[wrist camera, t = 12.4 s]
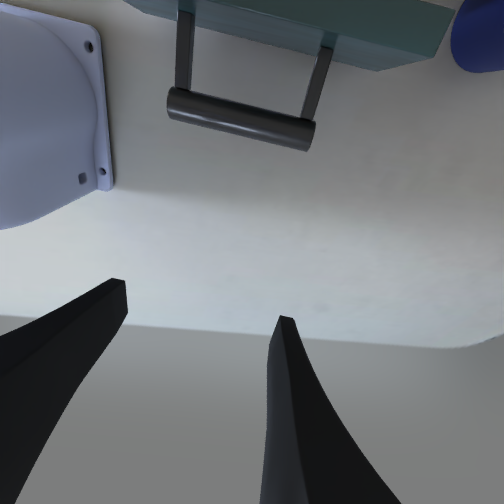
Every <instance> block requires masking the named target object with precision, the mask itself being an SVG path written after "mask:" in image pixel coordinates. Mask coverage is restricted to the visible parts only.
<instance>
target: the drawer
mask: <svg viewBox="0 0 504 504" xmlns="http://www.w3.org/2000/svg"><path fill="white" fill-rule="evenodd" d="M123 1H125V2H127V3H128V4H130V5H132V6H133V7H135V8H137V9H138V10H140V11H142V12H143V13H146V14H150V15H154V16H158V17H162V18H166V19H170V20H174V21H177V39H176V66H175V87H174V86H173V87H171V88H170V90H169V92H168V96H167V112H168V115H169V117H170V118H171V119H174V120H178V121H182V122H186V123H190V124H194V125H198V126H202V127H207V128H211V129H215V130H219V131H223V132H227V133H231V134H235V135H239V136H243V137H248V138H252V139H256V140H260V141H264V142H268V143H272V144H276V145H280V146H284V147H289V148H293V149H297V150H301V151H305V152H307V151H308V150H309V148H310V145H311V142H312V139H313V136H314V132H315V128H316V122H315V121H312V120H313V118H314V115H315V111H316V108H317V105H318V101H319V98H320V95H321V91H322V88H323V85H324V82H325V78H326V75H327V72H328V68H329V65H330V62H331V60H332V61H336V62H340V63H344V64H348V65H352V66H356V67H360V68H364V69H368V70H372V71H376V72H378V71H382V70H386V69H390V68H394V67H398V66H402V65H406V64H410V63H414V62H418V61H422V60H426V59H430V58H433V57H434V56H435V54H436V52H437V49H438V47H439V45H440V43H441V41H442V39H443V37H444V35H445V33H446V31H447V28H448V26H449V24H450V22H451V20H452V18H453V16H454V14H455V10H454V9H450V8H446V7H443V6H439V5H435V4H431V3H427V2H423V1H420V0H123ZM195 26H198V27H202V28H206V29H210V30H214V31H218V32H221V33H225V34H229V35H233V36H237V37H241V38H245V39H249V40H253V41H257V42H261V43H265V44H269V45H273V46H277V47H281V48H285V49H289V50H293V51H297V52H301V53H305V54H309V55H313V56H316V60H315V63H314V67H313V71H312V74H311V78H310V82H309V85H308V89H307V92H306V96H305V100H304V103H303V107H302V111H301V114H300V117H301V118H300V117H296V116H292V115H288V114H284V113H280V112H276V111H272V110H267V109H263V108H259V107H255V106H251V105H247V104H243V103H239V102H235V101H231V100H227V99H223V98H219V97H215V96H211V95H207V94H203V93H199V92H195V91H190V89H191V77H192V62H193V46H194V31H195Z"/></svg>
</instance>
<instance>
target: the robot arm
mask: <svg viewBox="0 0 504 504" xmlns="http://www.w3.org/2000/svg"><path fill="white" fill-rule="evenodd" d="M90 43H91V44H92V45H93V48H94V49H93V52H92V53H91V51H90V50H89V44H90ZM102 168H104V169H105V170H106V173H104V172H103V170H102ZM112 189H113V174H112V163H111V152H110V141H109V129H108V118H107V107H106V96H105V85H104V74H103V63H102V51H101V40H100V35H99V33H98V31H97V30H96V29H95V28H94V27H93V26H91V25H88V24H84V23H81V22H77V21H73V20H69V19H65V18H61V17H57V16H53V15H49V14H45V13H41V12H37V11H33V10H29V9H25V8H21V7H17V6H13V5H9V4H5V3H1V2H0V230H3V229H7V228H12V227H16V226H20V225H23V224H26V223H29V222H32V221H34V220H37V219H39V218H41V217H43V216H45V215H47V214H49V213H51V212H53V211H55V210H57V209H59V208H61V207H63V206H65V205H67V204H69V203H71V202H73V201H75V200H77V199H79V198H81V197H83V196H85V195H87V194H89V193H91V192H93V191H95V190H102V191H110V190H112ZM127 313H128V307H127V296H126V285H125V281H124V280H119V279H115V278H111V279H109V280H107V281H105V282H104V283H102V284H100V285H98V286H97V287H95V288H93V289H92V290H90V291H88V292H86V293H85V294H83V295H81V296H79V297H78V298H76V299H74V300H72V301H71V302H69V303H67V304H65V305H63V306H62V307H60V308H58V309H56V310H54V311H52V312H50V313H48V314H46V315H44V316H42V317H40V318H38V319H36V320H35V321H32V322H30V323H28V324H26V325H24V326H22V327H20V328H18V329H15V330H13V331H11V332H8V333H6V334H4V335H2V336H0V504H15V502H16V500H17V498H18V496H19V494H20V492H21V490H22V488H23V486H24V484H25V482H26V480H27V478H28V476H29V474H30V472H31V470H32V468H33V466H34V464H35V462H36V460H37V459H38V457H39V455H40V453H41V451H42V449H43V447H44V445H45V444H46V442H47V440H48V438H49V436H50V435H51V433H52V431H53V429H54V427H55V426H56V424H57V422H58V420H59V419H60V417H61V415H62V413H63V412H64V410H65V408H66V407H67V405H68V403H69V401H70V399H71V398H72V396H73V395H74V393H75V391H76V390H77V388H78V387H79V385H80V384H81V382H82V381H83V379H84V378H85V376H86V375H87V374H88V372H89V370H90V369H91V368H92V366H93V365H94V364H95V362H96V361H97V360H98V358H99V357H100V356H101V354H102V353H103V351H104V350H105V349H106V347H107V346H108V344H109V343H110V342H111V340H112V339H113V337H114V336H115V335H116V333H117V331H118V330H119V328H120V326H121V325H122V323H123V321H124V319H125V317H126V315H127ZM260 504H401V503H400V501H399V500H398V499H397V497H396V496H395V495H394V494H393V493H392V491H391V490H390V489H389V487H388V486H387V485H386V484H385V482H384V481H383V480H382V479H381V477H380V476H379V475H378V474H377V472H376V471H375V469H374V468H373V467H372V465H371V464H370V463H369V461H368V460H367V459H366V457H365V456H364V454H363V453H362V452H361V450H360V449H359V447H358V446H357V444H356V443H355V441H354V440H353V438H352V437H351V435H350V434H349V432H348V431H347V429H346V428H345V426H344V425H343V423H342V421H341V420H340V418H339V417H338V415H337V413H336V412H335V410H334V408H333V406H332V405H331V403H330V401H329V399H328V398H327V396H326V394H325V392H324V390H323V388H322V386H321V384H320V382H319V380H318V378H317V376H316V374H315V372H314V370H313V368H312V366H311V363H310V361H309V359H308V356H307V354H306V351H305V349H304V346H303V344H302V341H301V338H300V336H299V333H298V330H297V327H296V324H295V321H294V319H293V318H290V317H285V316H281V315H280V316H279V319H278V322H277V325H276V327H275V330H274V333H273V335H272V338H271V341H270V344H269V352H268V362H267V431H266V442H265V454H264V465H263V475H262V485H261V494H260Z"/></svg>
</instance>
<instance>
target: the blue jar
mask: <svg viewBox="0 0 504 504" xmlns="http://www.w3.org/2000/svg"><path fill="white" fill-rule="evenodd" d="M451 51H452V54H453V57H454V59H455V61H456V62H457V64H458V65H459V66H460V67H461V68H463V69H464V70H466V71H469V72H474V73H483V72H492V71H500V70H504V0H465V2H464V3H463V5H462V7H461V8H460V10H459V12H458V14H457V17H456V19H455V22H454V25H453V29H452V33H451Z"/></svg>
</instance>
